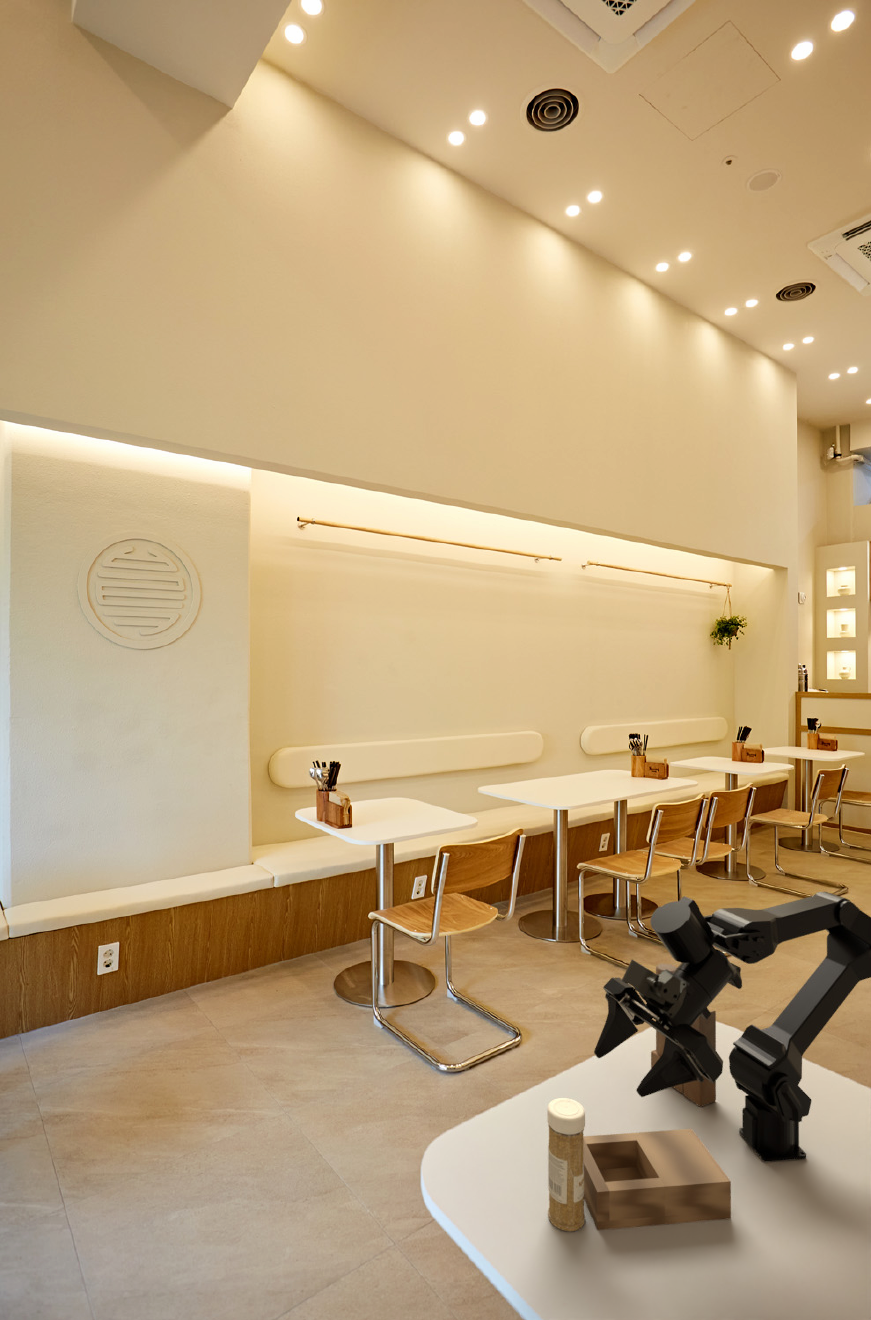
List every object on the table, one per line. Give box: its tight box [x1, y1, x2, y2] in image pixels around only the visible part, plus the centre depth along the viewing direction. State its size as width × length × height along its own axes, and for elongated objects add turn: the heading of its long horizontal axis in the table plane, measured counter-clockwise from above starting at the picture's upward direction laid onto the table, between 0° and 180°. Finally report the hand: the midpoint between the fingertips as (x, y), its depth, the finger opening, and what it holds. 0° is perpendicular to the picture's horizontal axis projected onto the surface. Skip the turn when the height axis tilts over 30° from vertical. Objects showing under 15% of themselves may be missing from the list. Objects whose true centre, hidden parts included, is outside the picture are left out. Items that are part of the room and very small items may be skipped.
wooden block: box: [650, 963, 717, 1107], centre depth 113 cm, size 4×11×18 cm, turn 26°
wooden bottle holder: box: [583, 1128, 732, 1231], centre depth 89 cm, size 17×10×4 cm, turn 96°
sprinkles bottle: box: [546, 1097, 586, 1232], centre depth 85 cm, size 5×5×13 cm
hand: (616, 1074), depth 90 cm, fingers open, 9 cm apart
